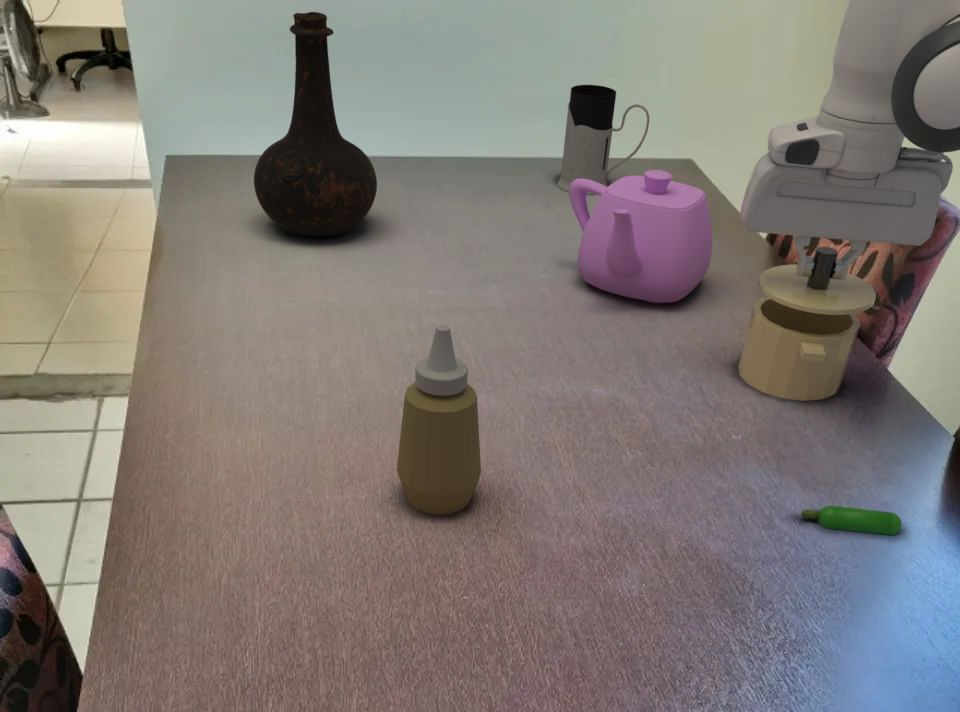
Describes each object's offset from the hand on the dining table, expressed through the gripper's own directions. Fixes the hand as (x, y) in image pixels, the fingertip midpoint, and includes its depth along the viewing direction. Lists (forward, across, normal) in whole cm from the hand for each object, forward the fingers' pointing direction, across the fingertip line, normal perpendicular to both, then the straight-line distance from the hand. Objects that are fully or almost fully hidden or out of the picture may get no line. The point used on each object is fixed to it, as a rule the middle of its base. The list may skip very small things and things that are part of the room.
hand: (819, 276), depth 110 cm
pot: (+13, 0, 0) cm, 13 cm away
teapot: (+13, +18, -25) cm, 34 cm away
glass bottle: (+12, +67, -36) cm, 77 cm away
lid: (+2, 0, 0) cm, 2 cm away
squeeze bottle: (+13, +38, +34) cm, 53 cm away
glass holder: (+13, +25, -67) cm, 73 cm away
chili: (+13, -3, +31) cm, 34 cm away
